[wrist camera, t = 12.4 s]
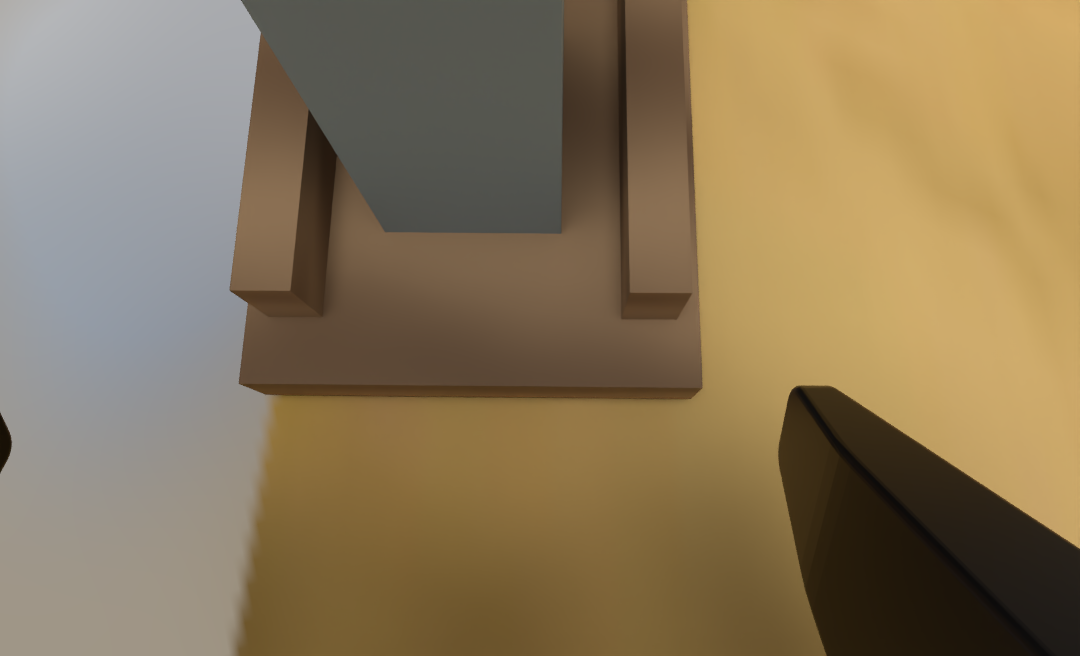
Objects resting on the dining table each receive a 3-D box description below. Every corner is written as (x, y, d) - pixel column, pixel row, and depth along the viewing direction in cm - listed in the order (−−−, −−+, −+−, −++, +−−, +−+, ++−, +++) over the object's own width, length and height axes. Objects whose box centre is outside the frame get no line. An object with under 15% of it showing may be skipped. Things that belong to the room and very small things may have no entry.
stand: (690, 398, 17) (722, 370, 14) (265, 394, 17) (194, 365, 14) (674, -39, 20) (698, -151, 17) (310, -37, 20) (261, -147, 17)
